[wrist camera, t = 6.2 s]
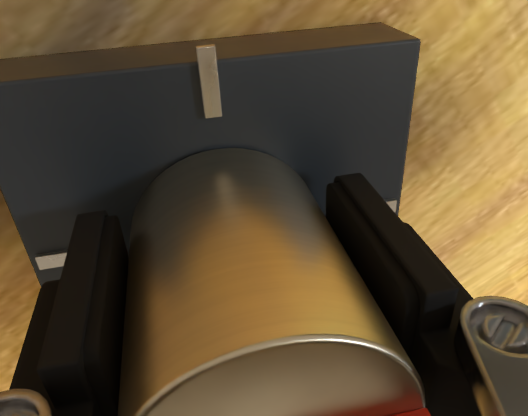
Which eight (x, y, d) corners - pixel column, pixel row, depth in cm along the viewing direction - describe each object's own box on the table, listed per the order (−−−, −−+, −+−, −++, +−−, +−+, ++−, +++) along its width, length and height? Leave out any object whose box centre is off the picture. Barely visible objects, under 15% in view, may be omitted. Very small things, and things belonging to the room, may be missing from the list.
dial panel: (-16, 45, 10) (-54, 72, 8) (383, 8, 11) (428, 24, 9) (101, 364, 15) (94, 424, 13) (357, 315, 16) (382, 362, 15)
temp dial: (151, 314, 12) (150, 584, 7) (110, 162, 9) (65, 412, 5) (315, 283, 12) (418, 511, 8) (314, 133, 10) (465, 325, 5)
